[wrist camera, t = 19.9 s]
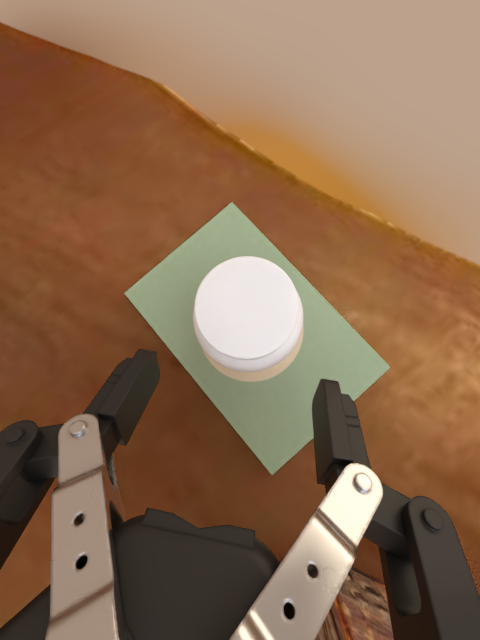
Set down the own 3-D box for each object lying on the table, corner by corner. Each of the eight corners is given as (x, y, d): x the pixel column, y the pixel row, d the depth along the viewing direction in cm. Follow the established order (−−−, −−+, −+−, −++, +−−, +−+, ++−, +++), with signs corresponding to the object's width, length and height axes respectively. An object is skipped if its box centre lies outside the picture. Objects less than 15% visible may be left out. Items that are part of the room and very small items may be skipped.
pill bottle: (200, 339, 22) (147, 323, 12) (240, 281, 23) (226, 213, 12) (260, 381, 22) (264, 407, 11) (301, 319, 22) (344, 285, 11)
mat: (271, 471, 22) (272, 476, 21) (127, 295, 24) (123, 292, 23) (386, 367, 22) (391, 367, 21) (232, 206, 25) (231, 200, 24)
